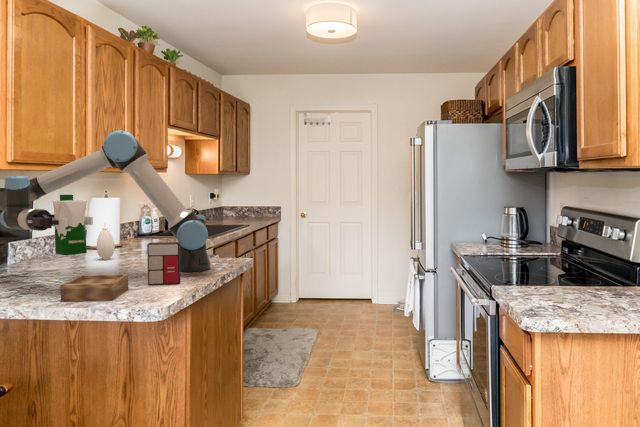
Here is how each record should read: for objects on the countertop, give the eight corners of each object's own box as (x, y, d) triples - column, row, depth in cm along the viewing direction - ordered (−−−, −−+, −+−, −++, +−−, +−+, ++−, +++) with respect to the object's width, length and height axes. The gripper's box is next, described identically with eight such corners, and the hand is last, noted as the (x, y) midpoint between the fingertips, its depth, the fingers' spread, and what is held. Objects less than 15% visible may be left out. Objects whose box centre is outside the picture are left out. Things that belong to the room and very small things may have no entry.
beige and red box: (147, 285, 166) (146, 244, 165) (149, 283, 170) (148, 242, 169) (179, 284, 168) (178, 243, 167) (180, 282, 172) (180, 241, 172)
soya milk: (77, 251, 164) (75, 194, 162) (91, 253, 158) (89, 194, 157) (51, 254, 156) (49, 194, 155) (64, 256, 151) (63, 194, 150)
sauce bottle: (93, 260, 223) (92, 222, 222) (107, 257, 230) (106, 221, 229) (104, 261, 219) (103, 223, 218) (118, 259, 226) (117, 222, 225)
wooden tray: (128, 289, 160) (128, 274, 160) (113, 300, 145) (112, 283, 144) (81, 290, 158) (80, 275, 158) (60, 301, 143) (60, 284, 143)
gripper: (64, 227, 174) (106, 230, 165) (4, 233, 155) (49, 236, 145) (63, 207, 174) (106, 209, 164) (3, 210, 154) (48, 212, 145)
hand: (79, 221), depth 155 cm, fingers closed on soya milk, 9 cm apart
